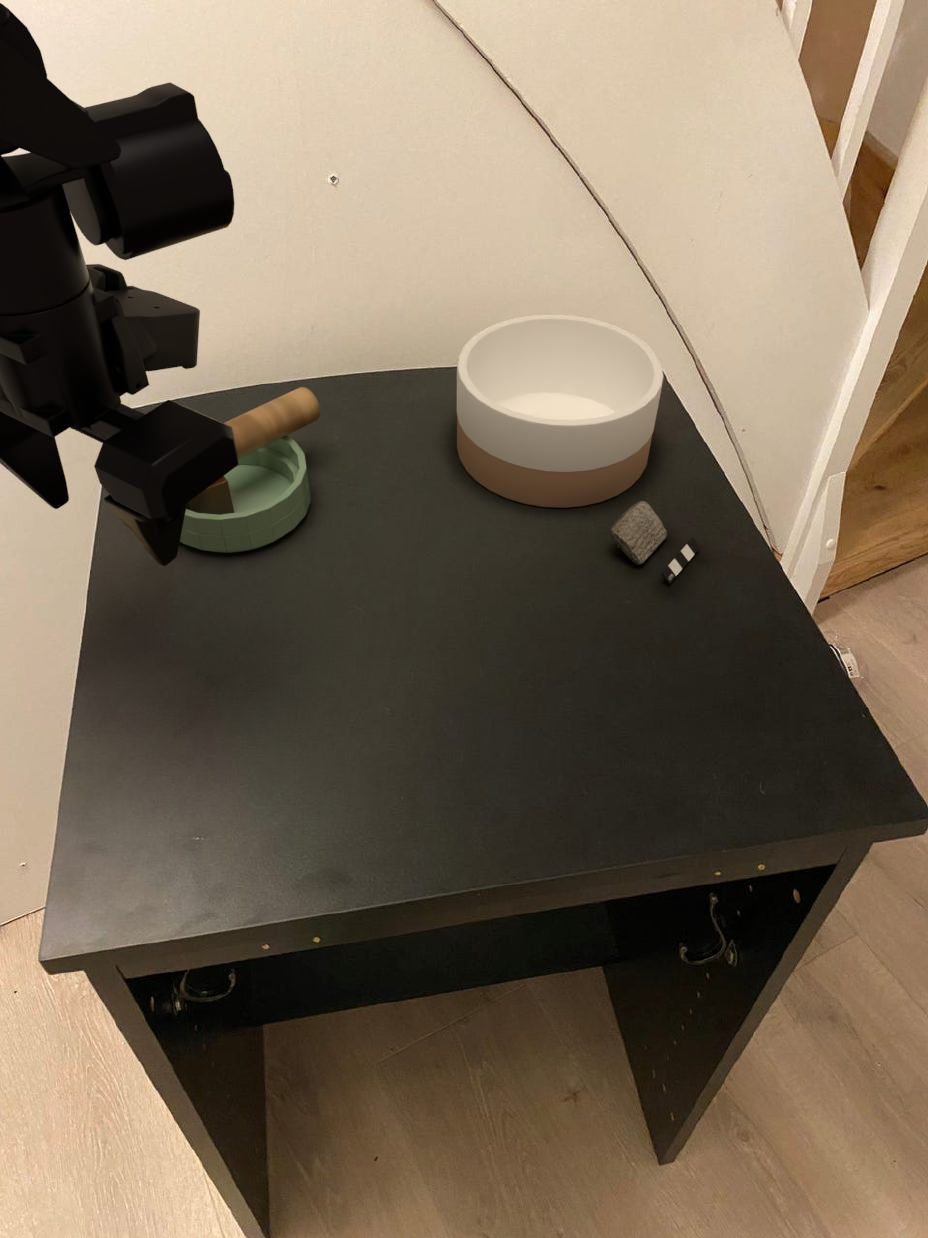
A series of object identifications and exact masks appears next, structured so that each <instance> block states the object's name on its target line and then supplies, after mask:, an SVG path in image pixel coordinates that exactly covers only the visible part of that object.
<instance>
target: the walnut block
mask: <svg viewBox="0 0 928 1238" xmlns="http://www.w3.org/2000/svg"><path fill="white" fill-rule="evenodd" d="M186 509H188V510H191V511H194V512H197V513H205V514H218V515H221V514H229V513H235V512H234V507H233V503H232V498H231V494H230V489H229V484H228V481H227V479H226V478H225V477H224V476H223V477H221V478H220V479H219V480H217V481H216V482H215V483H213V484H212V485H211V486H209V487H208V488H207V489H205V490H204V491H203V492H201V493H200V494H199V495H197V496H196V497H195V498H193V499H192V500H191V501H189V502H188V503H187V507H186Z"/></svg>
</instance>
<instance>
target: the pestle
mask: <svg viewBox="0 0 928 1238" xmlns="http://www.w3.org/2000/svg"><path fill="white" fill-rule="evenodd" d="M320 415H321V407H320V403H319V401H318V399H317V397H316V396H315V394H314V393H313V392H312V390H310V389H309V388H307V387H304V386H300V387H298V388H296V389H294V390H291V391H289V392H287V393H285V394H283V395H281V396H279V397H276V398H274V399H272V400H270V401H268V402H266V403H264V404H261V405H259V406H257V407H255V408H253V409H251V410H249V411H245V412H244V413H242V414H240V415H238V416H235V417H233V418H231V419H229V420H227V421H225V422H223V423H224V424H226V425H229V426H231V427H232V430H233V435H234V440H235V445H236V450H237V454H238V459H240V458H242V457H244V456H246V455H248V454H250V453H252V452H254V451H256V450H258V449H260V448H262V447H264V446H266V445H268V444H270V443H272V442H274V441H276V440H278V439H280V438H282V437H284V436H288V435H290V434H292V433H295V432H296V431H299V430H300V429H302V428H305V427H306V426H308V425H310V424H313V423H314V422H316V421H318V420H319V418H320Z"/></svg>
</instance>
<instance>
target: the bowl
mask: <svg viewBox="0 0 928 1238" xmlns="http://www.w3.org/2000/svg"><path fill="white" fill-rule="evenodd" d="M456 366H457V367H456V449H457V454H458V458H459V460H460V462H461V464H462V466H463V468H464V469H465V471H466V472H467V474H469V475H470V476H471V477H472V478H473V480H475V481H476V483H478V484H480V485H481V486H483V487H484V488H486V489H487V490H488V491H489V492H492V493H494V494H496V495H499V496H501V497H502V498H505V499H507V500H511V501H514V502H518V503H521V504H524V505H530V506H534V507H535V506H536V507H542V508H558V509H559V508H562V509H566V508H576V507H585V506H589V505H594V504H597V503H602V502H604V501H607V500H609V499H612V498H615V497H617V496H619V495H620V494H622V493H623V492H625V491H627V490H628V489H630V488H631V487H632V486H634V484H635V483H636V482H637V481H638V480H639V479H640V478H641V476H642V475H643V473H644V471H645V469H646V468H647V465H648V460H649V455H650V449H651V445H652V439H653V433H654V430H655V426H656V420H657V415H658V410H659V404H660V399H661V394H662V389H663V383H664V378H665V377H664V371H663V366H662V362H661V361H660V359H659V357H658V355H657V354H656V352H655V351H654V350H653V349H652V348H651V347H650V346H649V345H648V344H647V343H646V342H645V341H644V340H642V339H641V338H639V337H638V336H637V335H635V334H633V333H632V332H629V331H627V330H625V329H623V328H622V327H619V326H616V325H614V324H611V323H608V322H605V321H602V320H598V319H594V318H590V317H586V316H585V317H584V316H579V315H578V316H577V315H570V314H549V313H548V314H534V315H533V314H532V315H526V316H519V317H514V318H510V319H507V320H503V321H501V322H500V321H499V322H497V323H495V324H493V325H490V326H488V327H486V328H484V329H482V330H481V331H479V332H478V333H476V334H475V335H473V336H472V337H471V338H470V339H469V340H468V341H467V342H466V343H465V345H463V347H462V350H461V351H460V353H459V356H458V358H457V365H456Z"/></svg>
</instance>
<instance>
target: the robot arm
mask: <svg viewBox="0 0 928 1238" xmlns="http://www.w3.org/2000/svg"><path fill="white" fill-rule="evenodd" d="M41 51H42V50H41V49H40V47H39V45H38V44H37V42H36V40H35V39H34V37H33V34H32V33H31V32H30V30H29V28H28V27H27V26H26V25H25V23H24V22H22V21H21V20H20V19H19V17H17V15H15V13H13V12H12V10H10V9H9V8H8V7H7V6H6V5H4V4H3V3H1V2H0V465H2V466H3V468H5V469H6V470H8V471H9V472H10V473H11V474H12V475H13V476H15V478H16V479H18V481H21V483H23V484H24V485H25V486H26V487H27V488H28V489H30V490H31V491H32V492H33V493H34V494H36V495H37V496H38V497H39V498H40V499H41V500H42V501H44V502H45V503H46V504H47V505H48V506H50V507H51V508H53V509H54V510H58V509H60V508H61V507H63V506H64V505H66V504H68V503H69V501H70V496H69V490H68V484H67V479H66V475H65V470H64V467H63V463H62V459H61V456H60V455H61V454H60V452H59V447H58V444H57V440H56V437H57V436H58V435H60V434H62V433H64V432H65V431H67V430H69V429H71V430H74V431H77V433H81V434H83V435H85V436H86V437H89V438H91V439H93V440H96V441H97V442H99V443H102V445H101V447H100V449H99V452H98V454H97V457H96V460H95V463H94V466H93V467H94V470H95V473H96V476H97V478H98V481H99V484H100V485H101V486H102V488H103V489H104V490H105V491H106V492H107V493H108V495H106V496H105V497H103V500H104V502H105V503H106V505H107V506H108V507H109V508H110V509H111V511H112V512H113V513H114V514H115V515H116V516H117V518H118V519H119V520H120V521H121V522H122V523H123V525H124V526H125V527H126V528H127V529H128V531H129V532H130V533H131V534H132V535H133V536H134V538H136V540H137V541H138V543H139V544H140V545H141V546H142V547H143V548H144V549H145V551H146V552H147V553H148V554H149V555H150V556H151V558H153V559H154V560H155V562H156V563H157V564H159V565H160V566H162V567H167V566H168V565H169V564H170V563H171V562H173V561H174V560H175V559H177V557H178V554H179V548H180V543H181V542H180V538H181V533H182V527H183V522H184V517H185V512H186V507H187V503H188V502H189V501H191V500H192V499H193V498H195V497H196V496H197V495H199V494H200V493H201V492H203V491H204V490H205V489H207V488H208V487H209V486H211V485H212V484H213V483H215V482H216V481H217V480H219V479H220V478H221V477H223V476H224V475H225V474H227V473H228V472H229V471H231V470H232V469H234V468H235V467H236V466H238V454H237V450H236V445H235V440H234V435H233V430H232V427H231V426H229V425H226V424H224V423H225V422H221V421H220V420H217V419H215V418H212V417H210V416H208V415H206V414H204V413H201V412H199V411H196V410H194V409H192V408H190V407H187V406H186V405H182V404H180V403H177V402H175V401H174V400H170V399H167V400H165V401H164V402H162V403H161V404H159V405H158V406H157V407H154V408H153V409H152V410H150V411H148V412H147V413H144V412H141V411H139V410H137V409H135V408H133V407H130V406H128V405H126V404H124V403H122V399H121V397H122V396H123V395H125V394H129V395H131V396H133V395H136V394H137V393H139V392H141V391H142V390H144V389H146V388H147V387H148V386H150V382H149V379H148V374H147V372H155V371H161V370H167V369H173V368H174V369H175V368H181V367H182V368H183V369H185V370H189V369H194V368H196V367H197V366H198V353H199V352H198V351H199V337H200V336H199V335H200V315H201V311H200V309H199V308H197V307H195V306H193V305H191V304H188V303H185V302H183V301H180V300H178V299H175V298H172V297H169V296H167V295H164V294H162V293H159V292H156V291H153V290H148V289H142V288H141V287H138V286H135V285H128V284H127V281H126V279H125V276H124V274H123V272H121V271H119V270H116V269H114V268H112V267H108V266H106V265H104V264H101V263H100V264H99V263H92V264H91V263H89V264H86V260H85V257H84V252H83V250H82V247H81V243H80V240H79V237H78V233H77V229H76V226H77V228H78V229H79V231H80V232H81V234H82V235H83V237H84V238H85V239H86V241H88V242H89V243H90V244H91V245H93V246H96V247H97V246H101V245H106V246H107V248H108V249H109V250H110V251H111V252H112V253H113V255H115V256H116V257H117V258H119V259H120V260H123V261H127V260H131V259H134V258H137V257H140V256H143V255H146V254H149V253H152V252H155V251H159V250H162V249H166V248H168V247H171V246H174V245H177V244H180V243H183V242H186V241H189V240H192V239H196V238H198V237H201V236H204V235H207V234H211V233H214V232H217V231H220V230H223V229H227V228H228V227H229V226H230V224H232V222H233V218H234V215H235V194H234V193H235V191H234V188H233V187H234V186H233V181H232V177H231V175H230V174H231V173H229V171H228V170H226V169H225V166H224V163H223V160H222V158H221V155H220V153H219V150H218V147H217V145H216V144H215V142H214V140H213V138H212V136H211V134H210V132H209V131H208V129H207V128H206V126H205V125H204V124H203V122H202V120H200V119H199V114H198V110H197V104H196V99H195V95H194V94H193V93H191V92H190V91H188V90H185V89H184V88H182V87H180V86H179V85H176V84H175V83H172V82H166V83H161V84H157V85H153V86H150V87H147V88H145V89H144V90H142V91H140V92H138V93H137V94H134V95H132V96H127V97H122V98H119V99H114V100H110V101H107V102H103V103H98V104H93V105H90V106H89V105H88V106H86V107H85V106H82V105H81V104H79V103H78V102H76V101H74V100H73V99H71V98H70V97H68V95H66V94H65V93H64V92H63V91H62V90H61V89H60V88H58V87H57V86H56V85H55V84H54V83H53V82H52V81H51V80H50V79H49V78H48V73H47V69H46V66H45V63H44V62H45V61H44V59H43V54H42V52H41ZM18 149H21V150H23V151H26V152H25V153H22V154H15V155H14V154H13V155H7V154H11V153H13V152H15V151H18ZM5 155H6V156H5ZM75 224H76V226H75Z"/></svg>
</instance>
